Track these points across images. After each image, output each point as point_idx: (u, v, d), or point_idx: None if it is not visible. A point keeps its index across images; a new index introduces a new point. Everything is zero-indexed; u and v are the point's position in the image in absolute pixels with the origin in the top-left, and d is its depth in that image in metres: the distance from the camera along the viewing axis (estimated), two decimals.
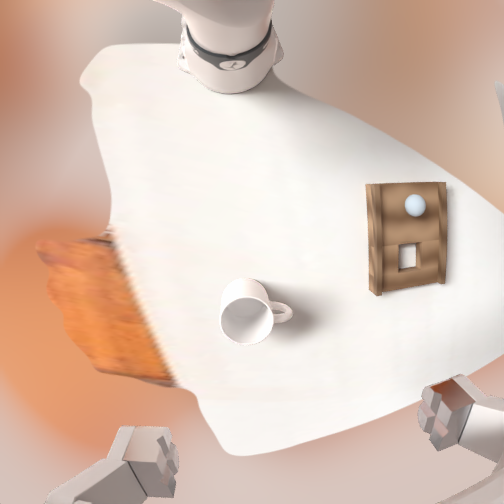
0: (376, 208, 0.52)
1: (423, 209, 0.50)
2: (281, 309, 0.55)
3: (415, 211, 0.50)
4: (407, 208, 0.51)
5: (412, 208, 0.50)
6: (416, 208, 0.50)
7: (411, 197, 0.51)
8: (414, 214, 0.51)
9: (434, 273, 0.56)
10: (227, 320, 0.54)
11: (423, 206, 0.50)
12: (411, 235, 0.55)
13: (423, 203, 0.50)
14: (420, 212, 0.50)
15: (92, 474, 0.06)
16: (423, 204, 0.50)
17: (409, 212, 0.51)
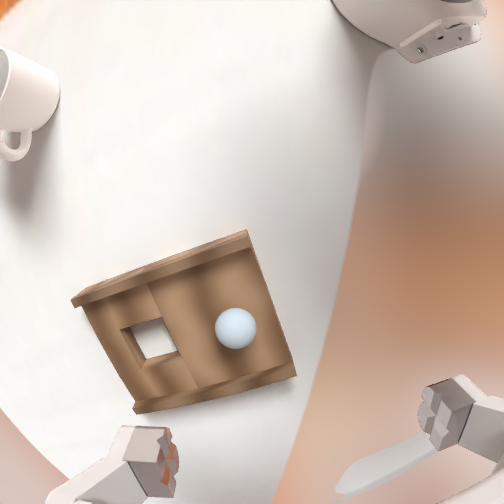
0: (204, 252, 0.29)
1: (231, 345, 0.29)
2: None
3: (221, 330, 0.29)
4: (224, 314, 0.30)
5: (227, 323, 0.29)
6: (227, 329, 0.29)
7: (247, 315, 0.30)
8: (217, 330, 0.29)
9: (146, 393, 0.34)
10: None
11: (236, 343, 0.29)
12: (185, 337, 0.33)
13: (242, 342, 0.29)
14: (224, 340, 0.29)
15: (92, 474, 0.06)
16: (240, 343, 0.29)
17: (218, 319, 0.30)
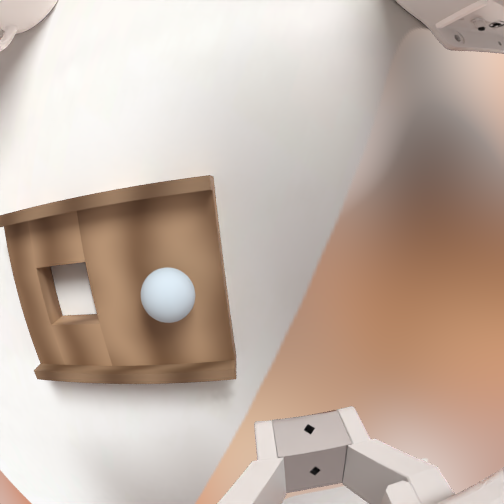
0: (150, 185, 0.21)
1: (156, 314, 0.21)
2: None
3: (147, 290, 0.21)
4: (156, 271, 0.22)
5: (156, 282, 0.21)
6: (154, 291, 0.21)
7: (185, 279, 0.22)
8: (142, 290, 0.21)
9: (52, 357, 0.25)
10: None
11: (163, 313, 0.21)
12: (106, 295, 0.24)
13: (170, 313, 0.21)
14: (148, 305, 0.21)
15: (252, 480, 0.06)
16: (168, 314, 0.21)
17: (147, 277, 0.22)
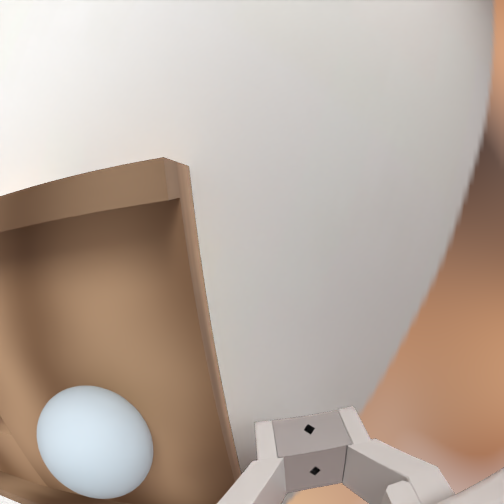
0: (22, 194, 0.07)
1: (71, 488, 0.06)
2: None
3: (41, 448, 0.06)
4: (57, 402, 0.07)
5: (53, 438, 0.06)
6: (53, 457, 0.06)
7: (120, 431, 0.07)
8: None
9: None
10: None
11: (82, 493, 0.06)
12: (8, 400, 0.10)
13: (98, 496, 0.06)
14: None
15: (252, 480, 0.06)
16: (93, 497, 0.06)
17: (44, 410, 0.07)
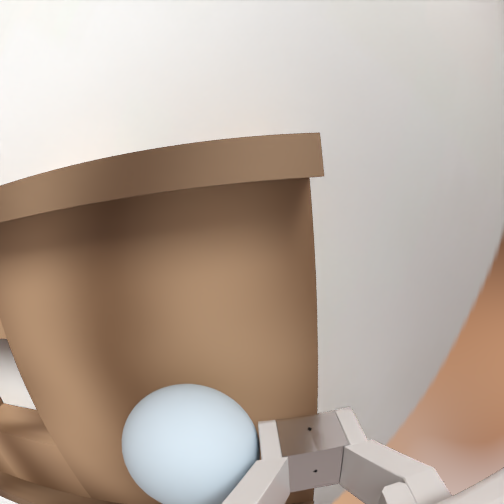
0: (134, 157, 0.07)
1: None
2: None
3: (136, 462, 0.06)
4: (157, 406, 0.07)
5: (157, 450, 0.06)
6: (156, 471, 0.06)
7: (239, 432, 0.07)
8: (125, 449, 0.07)
9: None
10: None
11: None
12: (58, 407, 0.10)
13: None
14: (142, 488, 0.06)
15: (256, 479, 0.06)
16: None
17: (135, 417, 0.07)
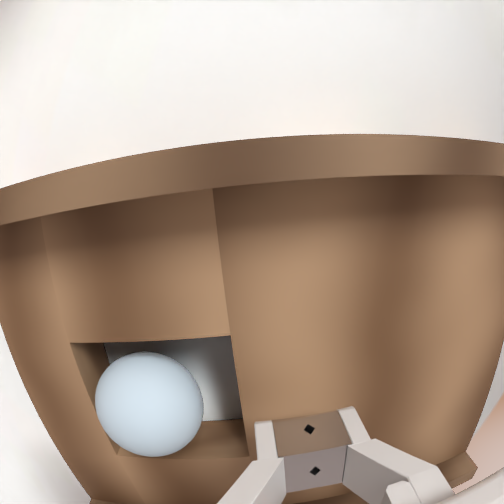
0: (468, 144, 0.07)
1: (147, 452, 0.09)
2: None
3: (122, 414, 0.08)
4: (125, 367, 0.09)
5: (138, 397, 0.09)
6: (141, 415, 0.08)
7: (186, 375, 0.10)
8: (106, 411, 0.09)
9: (119, 496, 0.11)
10: None
11: (163, 449, 0.09)
12: (282, 407, 0.10)
13: (178, 445, 0.09)
14: (128, 441, 0.08)
15: (252, 480, 0.06)
16: (173, 448, 0.09)
17: (107, 382, 0.09)
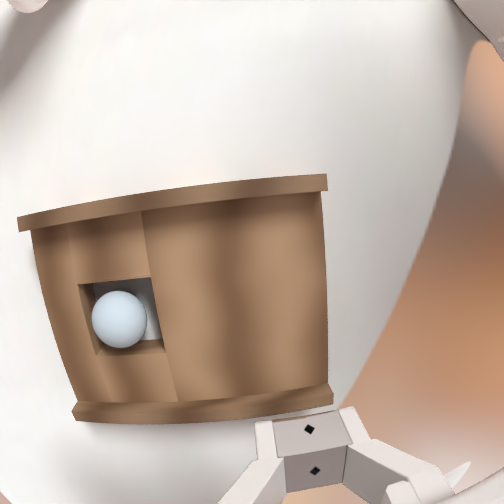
0: (255, 181, 0.18)
1: (120, 339, 0.19)
2: None
3: (109, 316, 0.19)
4: (109, 295, 0.20)
5: (117, 306, 0.19)
6: (118, 314, 0.19)
7: (138, 300, 0.21)
8: (100, 317, 0.19)
9: (95, 394, 0.21)
10: None
11: (128, 336, 0.19)
12: (178, 319, 0.20)
13: (135, 335, 0.20)
14: (111, 332, 0.19)
15: (252, 480, 0.06)
16: (132, 337, 0.19)
17: (100, 303, 0.19)
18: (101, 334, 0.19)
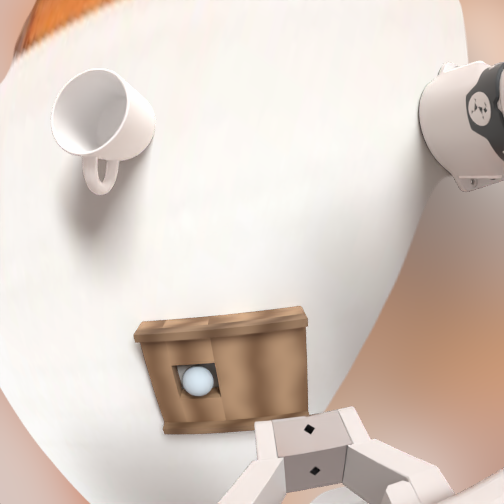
0: (270, 324, 0.35)
1: (203, 392, 0.37)
2: (105, 179, 0.31)
3: (198, 382, 0.36)
4: (194, 371, 0.37)
5: (201, 377, 0.37)
6: (203, 381, 0.37)
7: (208, 370, 0.39)
8: (192, 383, 0.36)
9: (177, 418, 0.39)
10: (92, 96, 0.28)
11: (207, 390, 0.37)
12: (229, 381, 0.38)
13: (210, 389, 0.37)
14: (199, 390, 0.36)
15: (252, 480, 0.06)
16: (209, 390, 0.37)
17: (190, 376, 0.37)
18: (193, 391, 0.36)
